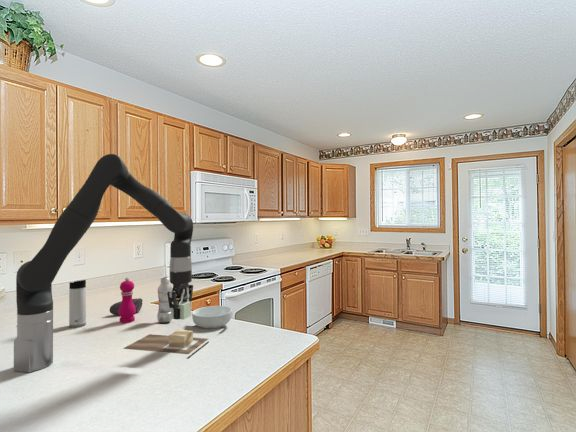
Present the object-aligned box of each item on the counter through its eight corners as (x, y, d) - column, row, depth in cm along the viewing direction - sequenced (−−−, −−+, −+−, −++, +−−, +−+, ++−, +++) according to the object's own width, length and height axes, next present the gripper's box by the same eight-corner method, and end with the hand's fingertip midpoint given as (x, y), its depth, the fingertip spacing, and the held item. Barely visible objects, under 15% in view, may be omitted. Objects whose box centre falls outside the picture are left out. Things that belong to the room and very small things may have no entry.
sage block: (183, 319, 119) (183, 305, 119) (171, 318, 120) (170, 304, 120) (191, 315, 124) (190, 301, 124) (178, 314, 125) (178, 301, 125)
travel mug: (78, 328, 146) (78, 281, 147) (65, 327, 148) (65, 281, 148) (90, 323, 153) (90, 279, 153) (77, 323, 154) (77, 278, 154)
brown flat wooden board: (188, 358, 113) (188, 353, 113) (122, 352, 119) (122, 348, 119) (208, 342, 128) (208, 338, 128) (149, 338, 133) (149, 334, 133)
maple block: (184, 347, 118) (184, 336, 119) (168, 346, 120) (168, 335, 120) (192, 341, 124) (192, 330, 124) (178, 340, 126) (178, 329, 126)
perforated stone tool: (109, 317, 163) (109, 302, 163) (109, 314, 168) (109, 300, 168) (143, 313, 170) (143, 299, 170) (142, 310, 175) (142, 297, 175)
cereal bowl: (190, 323, 152) (190, 307, 152) (227, 319, 158) (227, 304, 158) (194, 335, 136) (194, 317, 136) (235, 330, 142) (235, 313, 142)
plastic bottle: (167, 319, 159) (167, 276, 159) (175, 321, 154) (175, 277, 155) (154, 322, 154) (154, 278, 154) (162, 325, 150) (162, 279, 150)
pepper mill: (114, 322, 155) (114, 278, 155) (128, 318, 161) (128, 275, 161) (125, 324, 151) (125, 279, 152) (139, 320, 158) (139, 276, 158)
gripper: (181, 266, 130) (182, 311, 130) (159, 272, 116) (160, 322, 116) (199, 266, 129) (200, 312, 129) (179, 272, 115) (180, 323, 115)
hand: (181, 316), depth 122 cm, fingers closed on sage block, 5 cm apart
